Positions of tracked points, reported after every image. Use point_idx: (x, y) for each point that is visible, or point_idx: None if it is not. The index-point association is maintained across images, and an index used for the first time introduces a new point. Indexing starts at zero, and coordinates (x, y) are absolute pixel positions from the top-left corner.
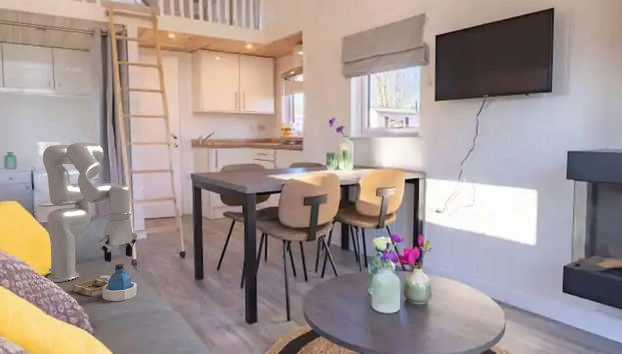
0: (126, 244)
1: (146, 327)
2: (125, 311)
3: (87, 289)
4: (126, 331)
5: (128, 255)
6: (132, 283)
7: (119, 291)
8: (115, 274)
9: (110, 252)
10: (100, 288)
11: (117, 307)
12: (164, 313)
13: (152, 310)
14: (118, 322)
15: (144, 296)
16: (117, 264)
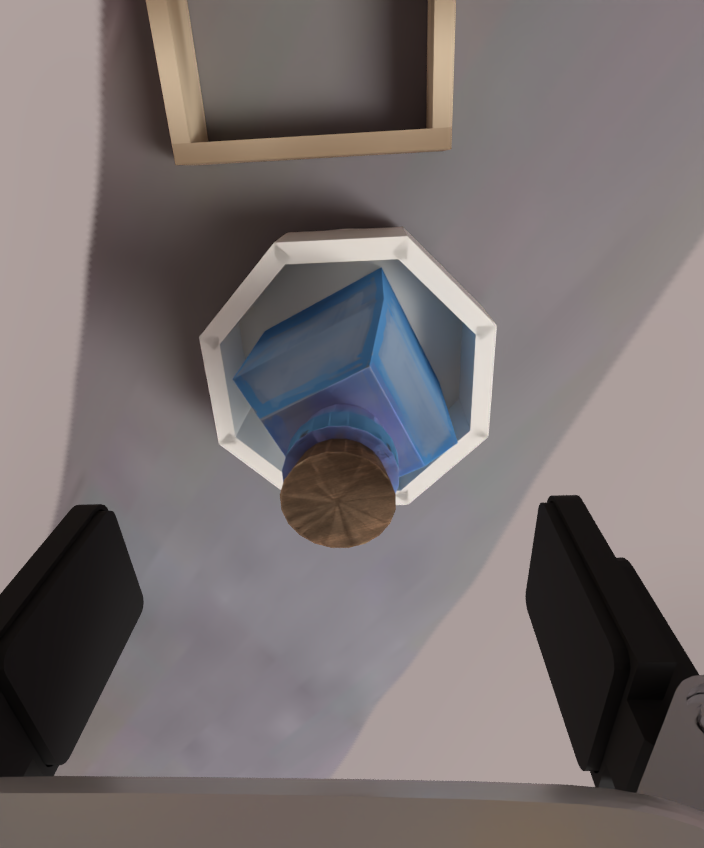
0: (660, 730)
1: (180, 762)
2: (213, 595)
3: (161, 76)
4: (103, 739)
5: (533, 574)
6: (472, 405)
7: (273, 482)
8: (285, 447)
9: (43, 770)
10: (276, 158)
11: (214, 520)
12: (324, 728)
13: (314, 674)
14: (119, 664)
15: (447, 498)
16: (341, 454)
